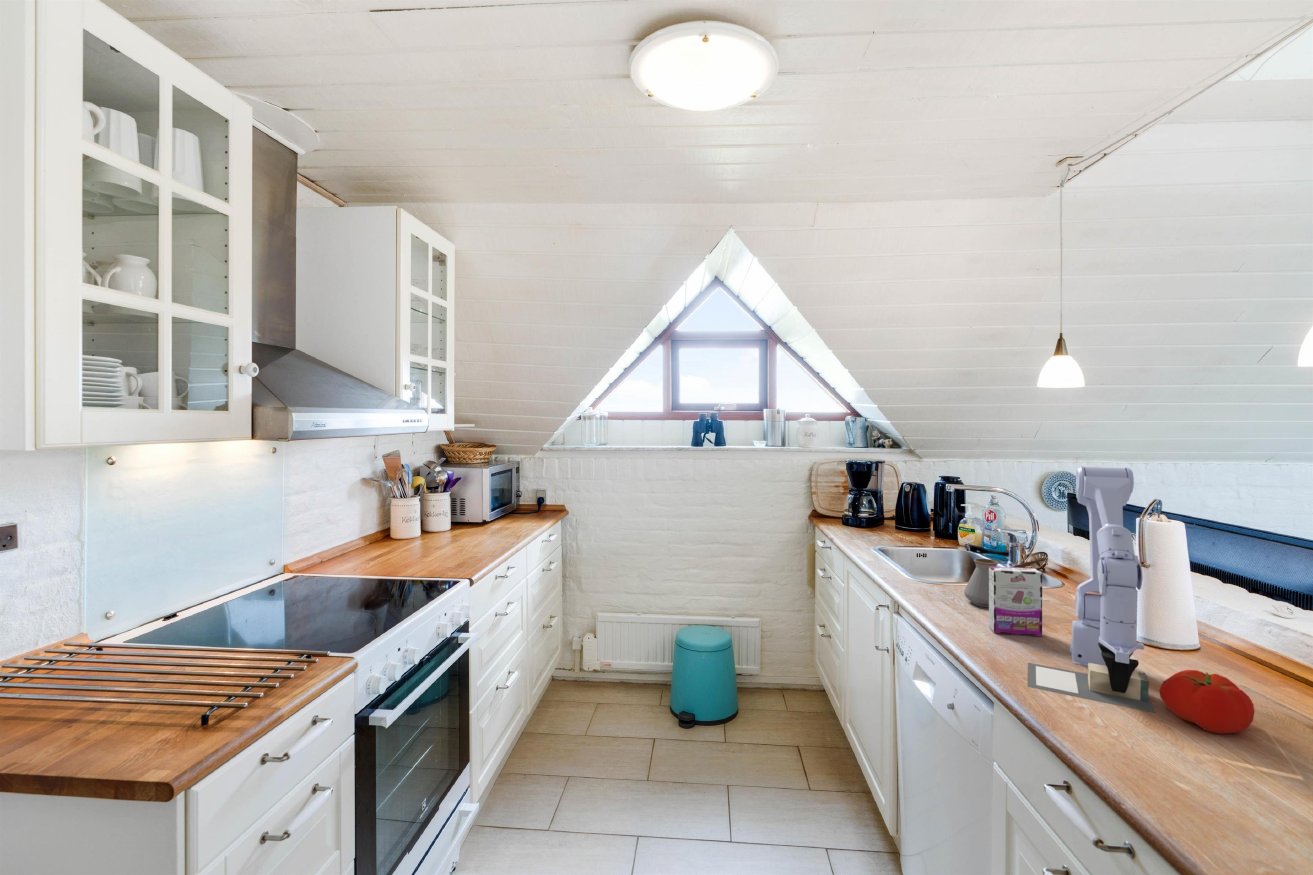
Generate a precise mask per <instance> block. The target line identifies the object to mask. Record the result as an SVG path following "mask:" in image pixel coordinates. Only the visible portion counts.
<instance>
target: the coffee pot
mask: <svg viewBox="0 0 1313 875" xmlns="http://www.w3.org/2000/svg"><path fill="white" fill-rule="evenodd" d="M973 562H974V563H975V568H974V571H973V573H972V574H971V576H970V579H969V580H968V581H967V583H966V586H965V587H964V590H963V594H964V596H965V597H966V598H967V600H968V601H970V603H971V604H973V605H975V606H978V607H982V608H989V567H998V565H999V561H997V560H994V559H989V558H975V559H973ZM1040 562H1041V563H1043V562H1044V563H1045V564H1046V566H1048V565H1049V563H1048V562H1047V559H1046V558H1045V557H1043V558H1039V559H1035V560H1030V561H1029V560H1028V561H1025V562H1022V563H1019V564H1015V565H1013V566H1010V567H1011V568H1027V567H1030V566H1032V565H1035V564H1039V563H1040Z"/></svg>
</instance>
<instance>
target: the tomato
mask: <svg viewBox="0 0 1313 875" xmlns="http://www.w3.org/2000/svg"><path fill="white" fill-rule="evenodd" d="M1158 691H1159V698H1160V699H1161V701H1162V703H1163V704H1164V705H1165V706H1166V708H1167V709H1168V710H1169V711H1170V712H1172V714H1175V715H1176V716H1177V717H1179V718H1180V719H1182V720H1184V721H1186V722H1187V723H1191V724H1196V725H1197V726H1199V727H1200V728H1201V729H1202V730H1204V731H1207V732H1209V733H1214V734H1220V735H1222V734H1229V733H1231V734H1232V733H1233V734H1235V733H1240V732H1242V731H1244V730H1246V729H1247V728H1249V727H1250V726H1251V724H1252V723H1253V721H1254V717H1255V712H1256V711H1255V705H1254V702H1253V701H1252V700H1251V697H1250V696H1249V695H1248V694H1247V693H1246V692H1245V691H1244V690H1242V689H1241V688H1240V687H1239V686H1237V684H1235V683H1234V682H1233V681H1231V680H1230V679H1229V678H1227V677H1226V676H1223V675H1220V674H1218V673H1211V674H1209V673H1208V671H1207V672H1203V671H1200V670H1195V669H1185V670H1181V671H1179V672H1176V673H1174V674H1172V675H1171V676H1169V677H1168V678H1166V679H1165V680H1163V681H1162V683H1161V685H1160V688H1159V690H1158Z"/></svg>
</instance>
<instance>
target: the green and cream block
mask: <svg viewBox="0 0 1313 875" xmlns="http://www.w3.org/2000/svg"><path fill="white" fill-rule="evenodd" d="M1087 674H1088V685H1089V689H1090V690H1091V691H1096V692H1101V693H1106V694H1111V695H1116V696H1121V697H1126V698H1131V699H1136V700H1141V701H1146V702H1148V696H1149V692H1150V691H1149V689H1150V684H1149V683H1150V681H1149V679H1148V677H1147V674H1146V673H1145V672H1142V671H1136V670H1134V671H1133V673H1132V675H1131V677H1130V681H1129V684H1128V688H1127V691H1126V693H1121V692H1116V691H1112V689H1111V685H1110V680H1109V673H1108V669H1107V666H1104V665H1098V664H1093V663H1088V666H1087ZM1149 697H1150V696H1149Z"/></svg>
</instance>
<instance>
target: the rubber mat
mask: <svg viewBox="0 0 1313 875" xmlns="http://www.w3.org/2000/svg"><path fill="white" fill-rule="evenodd" d="M1026 683H1027V684H1026V685H1027V687H1028V688H1032V689H1033V688H1034V689H1038V690H1043V691H1047V692H1052V693H1058V694H1062V695H1065V696H1071V697H1075V698H1081V699H1084V700H1085V699H1086V700H1090V701H1096V702H1100V703H1104V704H1108V705H1109V704H1110V705H1114V706H1119V707H1125V708H1130V709H1134V710H1138V711H1143V712H1147V713H1154V714H1156V711H1155V710H1156V709H1155V707H1154V705H1153V704H1152V701H1151V698H1150V696H1148V702H1146V701H1141V700H1136V699H1131V698H1126V697H1121V696H1116V695H1111V694H1106V693H1101V692H1096V691H1091V690H1090V689H1089V685H1088V673H1085V672H1080V671H1074V670H1069V669H1064V668H1060V667H1059V668H1058V667H1053V666H1049V665H1043V664H1039V663H1038V664H1037V663H1031V662H1027V682H1026Z"/></svg>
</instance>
